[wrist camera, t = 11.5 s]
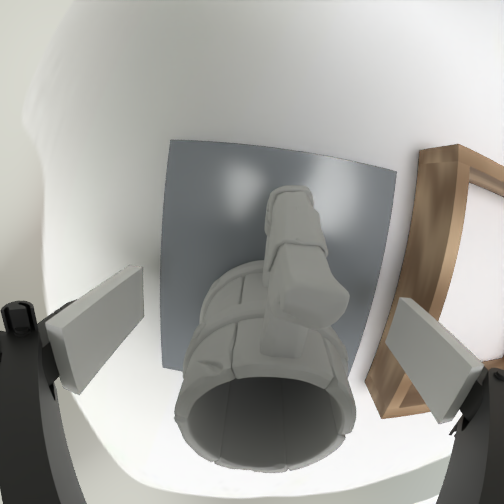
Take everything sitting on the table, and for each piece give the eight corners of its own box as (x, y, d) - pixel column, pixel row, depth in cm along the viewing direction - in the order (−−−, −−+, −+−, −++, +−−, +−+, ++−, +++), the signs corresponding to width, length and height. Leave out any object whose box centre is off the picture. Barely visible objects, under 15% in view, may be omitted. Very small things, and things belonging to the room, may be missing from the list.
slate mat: (173, 141, 16) (170, 139, 15) (392, 171, 16) (396, 171, 15) (164, 362, 19) (162, 367, 19) (342, 382, 19) (344, 386, 19)
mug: (203, 353, 18) (153, 502, 7) (216, 177, 16) (102, 160, 4) (310, 365, 18) (342, 515, 7) (345, 195, 16) (499, 223, 4)
